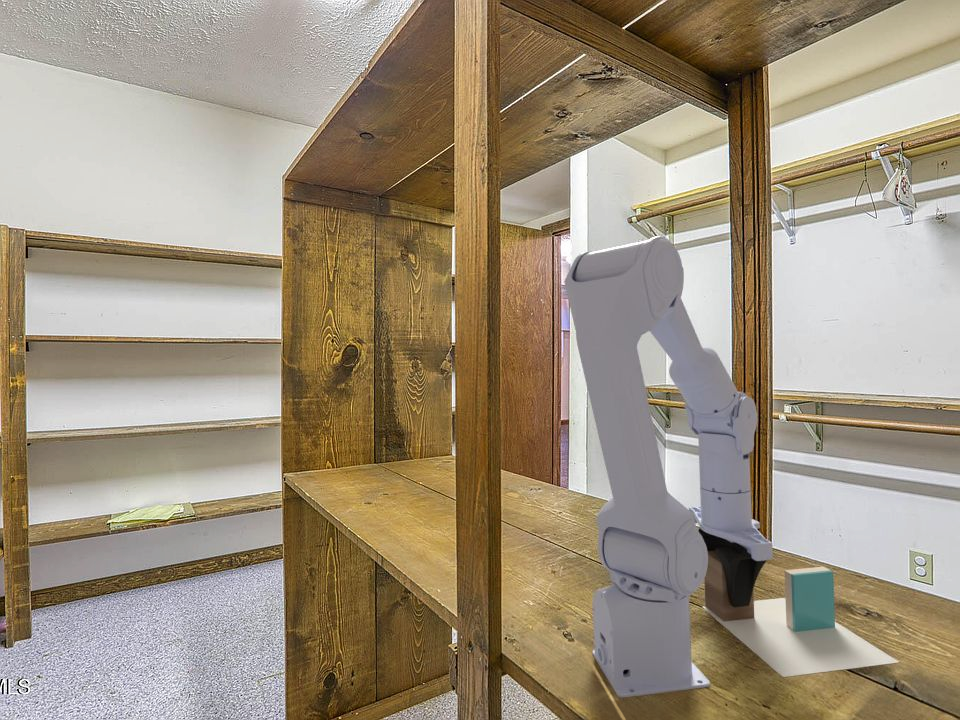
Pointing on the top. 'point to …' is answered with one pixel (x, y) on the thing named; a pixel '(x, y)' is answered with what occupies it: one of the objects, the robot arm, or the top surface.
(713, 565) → the walnut block
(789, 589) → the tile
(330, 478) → the top surface
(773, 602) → the mat
